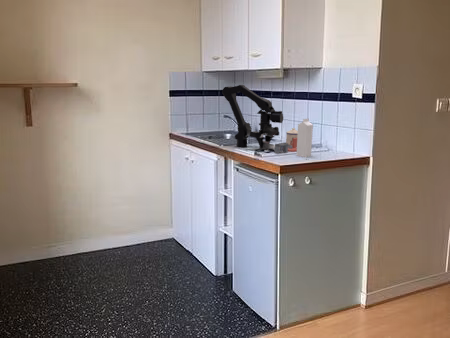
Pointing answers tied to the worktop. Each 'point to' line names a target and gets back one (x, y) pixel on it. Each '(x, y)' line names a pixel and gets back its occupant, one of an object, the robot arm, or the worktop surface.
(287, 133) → the teacup with lid
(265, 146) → the grey rod with block
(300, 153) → the milk
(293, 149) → the handwheel
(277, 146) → the eye post
